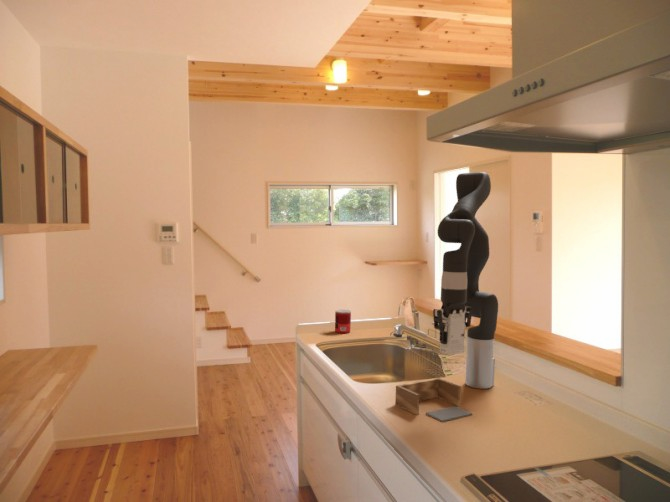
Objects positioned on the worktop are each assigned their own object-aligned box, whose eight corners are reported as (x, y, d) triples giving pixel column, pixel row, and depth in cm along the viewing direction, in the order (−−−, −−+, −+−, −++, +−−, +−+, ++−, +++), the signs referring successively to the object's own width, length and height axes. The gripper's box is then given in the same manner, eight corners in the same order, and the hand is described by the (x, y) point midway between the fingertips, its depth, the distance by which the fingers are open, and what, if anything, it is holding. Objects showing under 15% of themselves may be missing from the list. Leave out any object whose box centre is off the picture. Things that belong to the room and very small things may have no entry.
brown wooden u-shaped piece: (438, 395, 178) (438, 377, 177) (459, 405, 169) (460, 386, 169) (395, 404, 168) (396, 385, 168) (416, 414, 160) (416, 395, 159)
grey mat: (455, 407, 167) (455, 406, 167) (471, 414, 161) (471, 413, 161) (425, 414, 160) (426, 412, 160) (442, 422, 155) (442, 420, 154)
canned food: (353, 332, 273) (354, 311, 272) (342, 334, 267) (343, 312, 266) (342, 329, 278) (342, 308, 277) (331, 331, 272) (332, 310, 272)
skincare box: (449, 355, 156) (451, 314, 155) (438, 352, 160) (440, 312, 159) (464, 353, 159) (466, 312, 159) (453, 349, 163) (454, 310, 162)
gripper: (462, 284, 165) (460, 337, 166) (427, 286, 158) (425, 342, 159) (480, 287, 159) (478, 342, 160) (444, 289, 151) (442, 347, 152)
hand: (451, 342), depth 159 cm, fingers closed on skincare box, 6 cm apart
